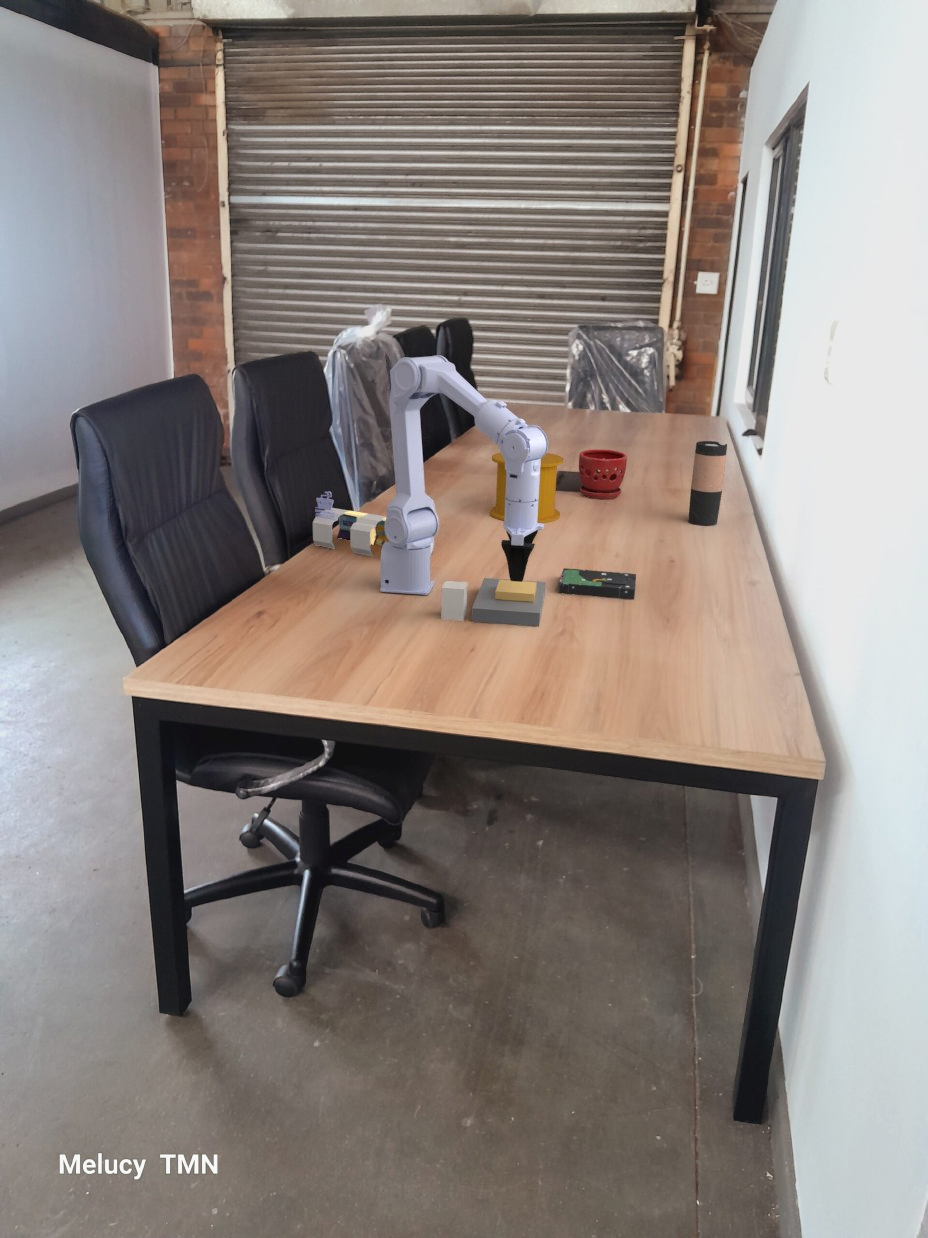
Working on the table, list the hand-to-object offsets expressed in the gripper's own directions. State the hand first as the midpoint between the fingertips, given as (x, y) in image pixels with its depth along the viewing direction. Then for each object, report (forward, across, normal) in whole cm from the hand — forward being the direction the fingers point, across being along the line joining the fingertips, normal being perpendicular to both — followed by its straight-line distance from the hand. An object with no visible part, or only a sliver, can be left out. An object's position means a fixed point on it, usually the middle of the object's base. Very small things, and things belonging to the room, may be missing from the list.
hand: (518, 574), depth 168 cm
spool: (+9, +79, +4) cm, 79 cm away
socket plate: (+9, +7, +2) cm, 11 cm away
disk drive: (+9, +22, -14) cm, 28 cm away
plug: (+9, 0, +11) cm, 14 cm away
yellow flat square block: (+6, +7, +1) cm, 9 cm away
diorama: (+9, +38, +35) cm, 52 cm away
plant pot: (+9, +105, -15) cm, 107 cm away
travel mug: (+9, +81, -41) cm, 91 cm away
